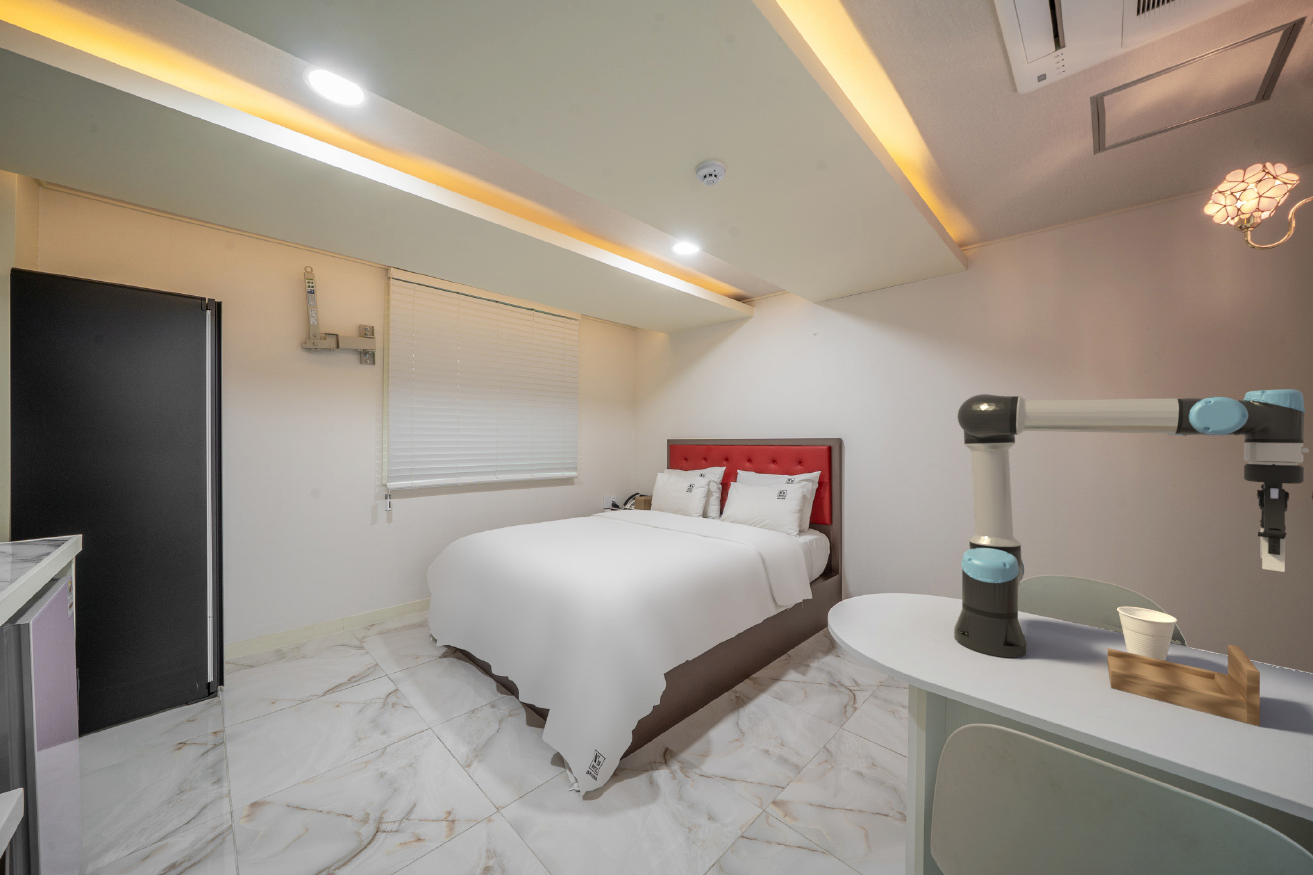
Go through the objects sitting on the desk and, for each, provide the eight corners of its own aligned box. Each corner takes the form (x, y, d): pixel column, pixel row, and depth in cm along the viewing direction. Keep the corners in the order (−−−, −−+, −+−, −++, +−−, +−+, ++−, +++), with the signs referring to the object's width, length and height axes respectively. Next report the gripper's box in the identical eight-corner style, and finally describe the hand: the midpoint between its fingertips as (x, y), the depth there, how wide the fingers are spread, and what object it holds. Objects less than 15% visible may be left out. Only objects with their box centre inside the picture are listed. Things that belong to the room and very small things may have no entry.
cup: (1190, 672, 105) (1190, 623, 105) (1138, 667, 107) (1138, 620, 107) (1153, 652, 114) (1153, 607, 114) (1106, 648, 116) (1106, 604, 116)
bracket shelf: (1111, 687, 98) (1111, 640, 98) (1107, 663, 108) (1107, 621, 108) (1259, 726, 85) (1259, 672, 85) (1239, 694, 95) (1239, 646, 95)
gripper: (1309, 466, 86) (1308, 580, 87) (1298, 462, 102) (1297, 558, 102) (1244, 464, 92) (1243, 570, 92) (1243, 460, 108) (1242, 551, 108)
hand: (1271, 564), depth 97 cm, fingers open, 13 cm apart
